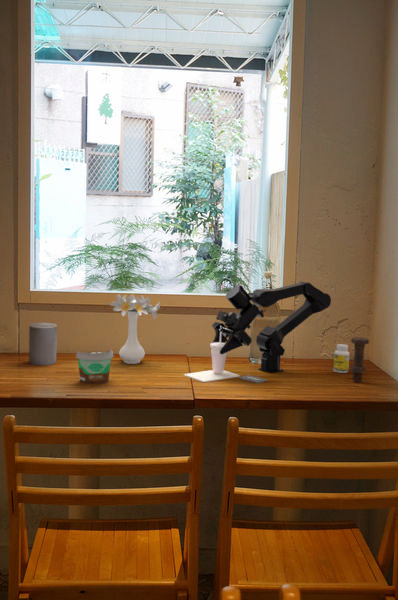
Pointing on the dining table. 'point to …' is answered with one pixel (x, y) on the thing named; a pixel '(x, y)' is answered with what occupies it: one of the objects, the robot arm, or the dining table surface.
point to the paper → (211, 375)
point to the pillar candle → (42, 343)
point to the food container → (94, 366)
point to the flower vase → (133, 324)
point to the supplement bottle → (341, 359)
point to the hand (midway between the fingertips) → (215, 351)
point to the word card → (253, 379)
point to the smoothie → (218, 356)
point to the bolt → (358, 358)
